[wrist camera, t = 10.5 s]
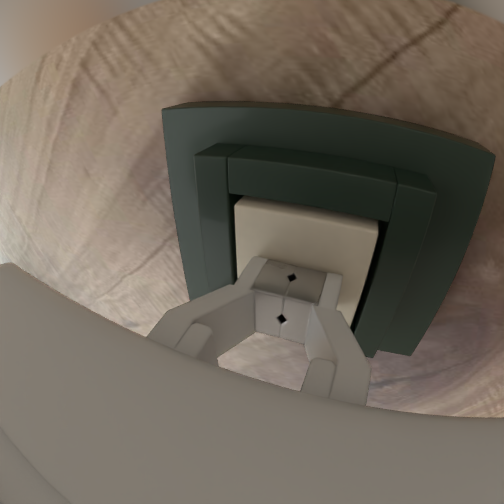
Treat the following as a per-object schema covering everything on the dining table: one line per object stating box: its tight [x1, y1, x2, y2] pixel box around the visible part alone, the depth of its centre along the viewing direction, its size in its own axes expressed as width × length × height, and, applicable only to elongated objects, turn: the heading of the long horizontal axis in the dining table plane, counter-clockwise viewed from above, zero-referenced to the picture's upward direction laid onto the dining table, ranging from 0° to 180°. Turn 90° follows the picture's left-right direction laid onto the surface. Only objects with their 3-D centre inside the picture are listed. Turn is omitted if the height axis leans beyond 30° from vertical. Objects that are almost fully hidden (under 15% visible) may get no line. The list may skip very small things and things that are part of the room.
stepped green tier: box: [162, 101, 496, 358], centre depth 11 cm, size 10×12×4 cm
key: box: [234, 195, 378, 327], centre depth 10 cm, size 4×4×2 cm
